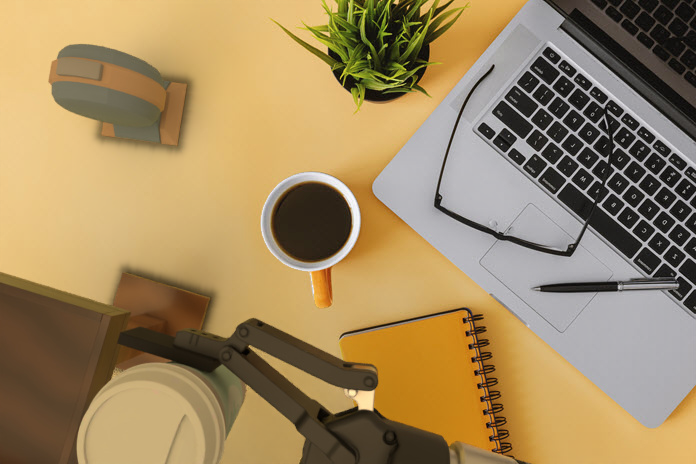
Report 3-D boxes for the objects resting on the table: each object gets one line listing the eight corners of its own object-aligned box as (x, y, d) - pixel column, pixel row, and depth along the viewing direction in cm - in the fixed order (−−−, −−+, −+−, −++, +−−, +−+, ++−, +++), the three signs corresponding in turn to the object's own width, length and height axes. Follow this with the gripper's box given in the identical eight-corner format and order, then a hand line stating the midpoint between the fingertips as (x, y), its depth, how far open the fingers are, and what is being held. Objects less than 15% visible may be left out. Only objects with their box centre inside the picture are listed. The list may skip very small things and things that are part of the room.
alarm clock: (193, 85, 76) (138, 34, 58) (183, 146, 75) (125, 114, 58) (106, 74, 77) (25, 20, 59) (95, 134, 76) (12, 98, 59)
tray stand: (184, 386, 74) (62, 472, 45) (99, 359, 75) (-75, 426, 46) (210, 297, 74) (105, 326, 45) (125, 272, 75) (-31, 284, 46)
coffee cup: (202, 464, 39) (127, 557, 27) (138, 379, 39) (36, 434, 27) (284, 396, 39) (246, 460, 27) (219, 313, 39) (152, 339, 27)
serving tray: (75, 499, 45) (50, 520, 41) (-100, 441, 46) (-139, 456, 42) (131, 311, 45) (111, 316, 42) (-44, 258, 46) (-78, 258, 43)
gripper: (391, 610, 35) (98, 511, 36) (468, 335, 35) (176, 249, 37) (396, 708, 27) (26, 578, 29) (494, 357, 28) (127, 248, 29)
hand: (111, 393), depth 33 cm, fingers closed on coffee cup, 8 cm apart
